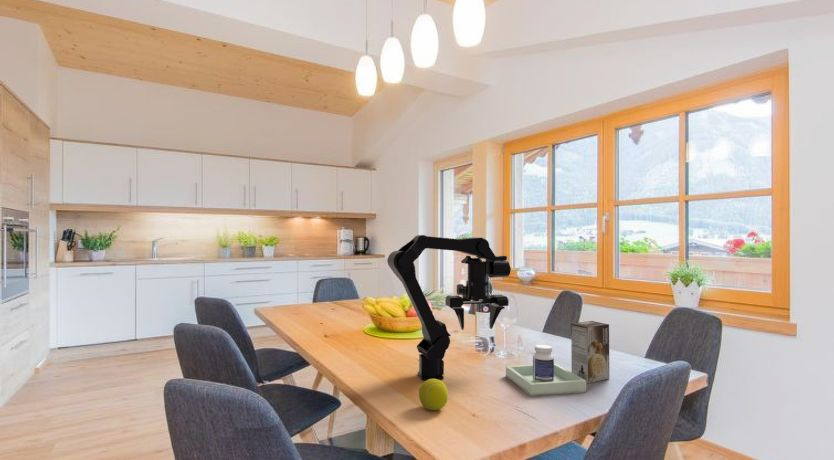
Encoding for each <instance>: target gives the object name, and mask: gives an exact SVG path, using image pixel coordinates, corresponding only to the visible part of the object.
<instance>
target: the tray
mask: <svg viewBox="0 0 834 460" xmlns="http://www.w3.org/2000/svg"><path fill="white" fill-rule="evenodd" d="M505 377H506V378H508V380H509V381H511V382H512V383H513V384H515V385H516V386H517V387H518V388H520V389H521V390H523V392H525V393H527V394H528V395H529V396H530V397H540V396H551V395H565V394H577V393H578V394H579V393H587V383H586V380H584V379H582V378H580V377H579V376H577V375H575V374H573V373H572V371H571V370H568V369H566V368H564V367H562V366H560V365H559V364H557V363H555V362H554V382H542V383H536V382H534V381H533V364H523V365H522V364H521V365H519V364H518V365H506V366H505Z"/></svg>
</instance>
